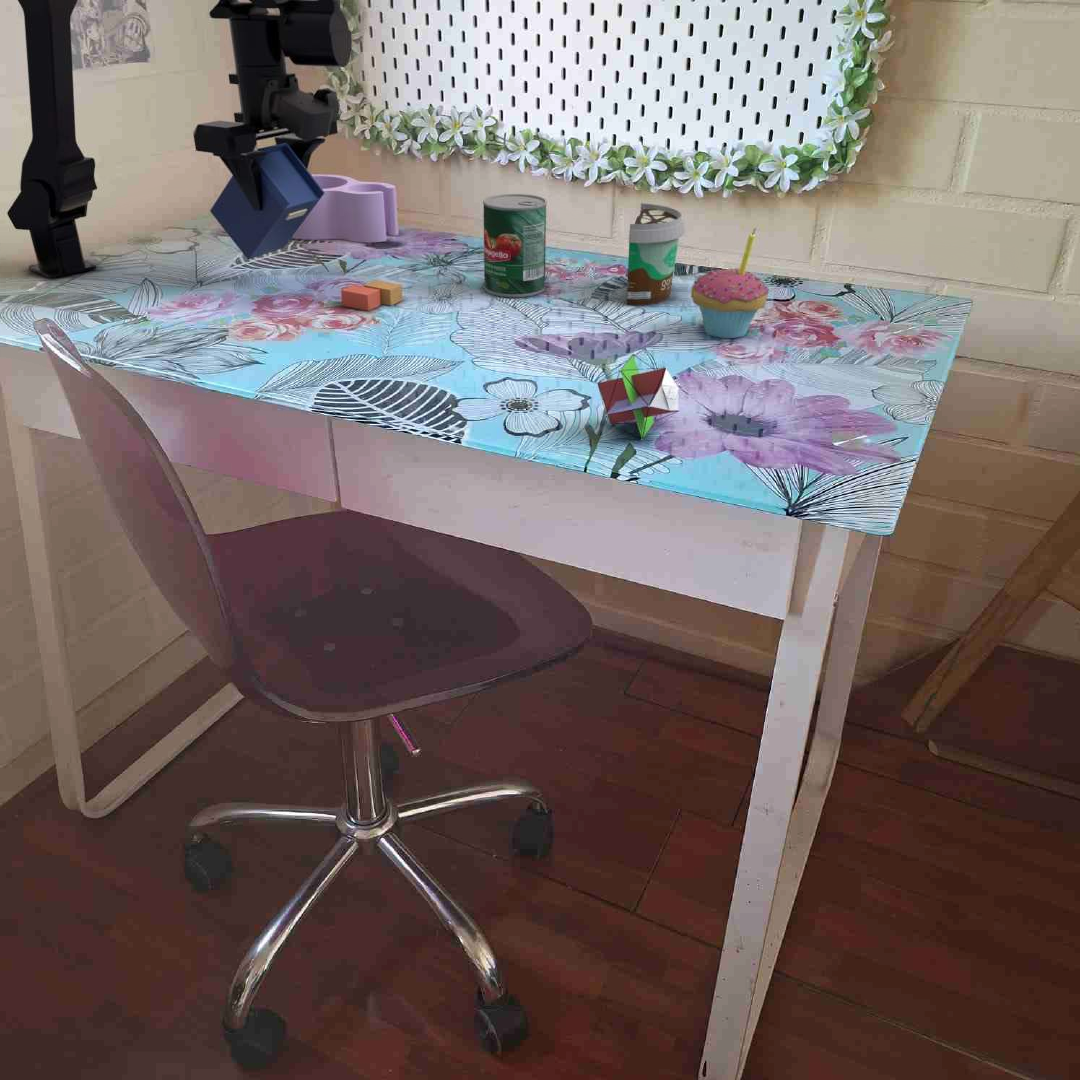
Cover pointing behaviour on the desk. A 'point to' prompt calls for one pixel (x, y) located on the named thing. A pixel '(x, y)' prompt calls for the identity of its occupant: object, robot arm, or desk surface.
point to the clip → (351, 211)
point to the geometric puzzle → (639, 396)
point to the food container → (653, 254)
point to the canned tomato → (514, 245)
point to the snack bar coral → (360, 297)
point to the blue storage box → (269, 204)
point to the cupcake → (729, 298)
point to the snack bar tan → (387, 291)
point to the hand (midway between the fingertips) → (277, 204)
